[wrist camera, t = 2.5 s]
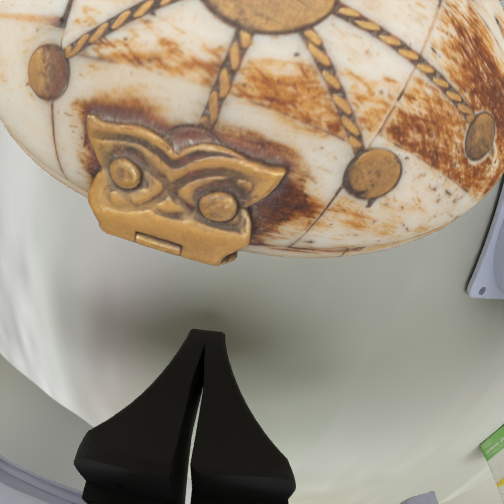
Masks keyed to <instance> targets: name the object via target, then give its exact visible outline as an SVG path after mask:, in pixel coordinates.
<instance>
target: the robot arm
mask: <svg viewBox="0 0 504 504" xmlns="http://www.w3.org/2000/svg"><path fill="white" fill-rule="evenodd" d="M467 293H468V295H469V296H470V297H472V298H484V299H503V300H504V183H503V187H502V191H501V195H500V198H499V202H498V205H497V209H496V212H495V215H494V218H493V221H492V224H491V227H490V230H489V233H488V236H487V239H486V242H485V245H484V247H483V250H482V253H481V255H480V258H479V260H478V263H477V265H476V268H475V270H474V273H473V275H472V277H471V280H470V282H469V284H468V287H467ZM202 389H203V394H202V400H201V406H200V412H199V418H198V424H197V430H196V436H195V442H194V447H193V452H192V458H191V463H190V467H191V480H192V495H191V504H288V499H289V498H290V496H291V495H292V494H293V492H294V491H295V489H296V483H295V479H294V475H293V472H292V469H291V467H290V464H289V462H288V459H287V458H286V457H285V456H284V455H283V454H282V453H281V452H280V451H279V450H278V448H277V447H276V446H275V445H274V444H273V443H272V441H271V440H270V439H269V438H268V436H267V435H266V434H265V432H264V431H263V429H262V428H261V427H260V425H259V424H258V422H257V421H256V419H255V418H254V416H253V414H252V413H251V411H250V409H249V408H248V406H247V404H246V402H245V400H244V398H243V396H242V394H241V392H240V390H239V387H238V385H237V382H236V380H235V377H234V375H233V372H232V369H231V365H230V362H229V359H228V354H227V350H226V344H225V334H224V333H223V332H215V331H206V330H198V329H192V330H190V332H189V334H188V336H187V338H186V340H185V341H184V343H183V345H182V346H181V348H180V349H179V351H178V352H177V354H176V355H175V356H174V358H173V359H172V361H171V362H170V363H169V365H168V366H167V367H166V368H165V369H164V371H163V372H162V373H161V374H160V376H159V377H158V378H157V379H156V380H155V381H154V382H153V383H152V384H151V385H150V386H149V387H148V388H147V389H146V390H145V391H144V392H143V393H142V394H141V395H140V396H139V397H138V398H136V399H135V400H134V401H133V402H132V403H131V404H129V405H128V406H127V407H125V408H124V409H123V410H121V411H120V412H118V413H117V414H116V415H114V416H113V417H111V418H110V419H108V420H107V421H105V422H103V423H101V424H100V425H98V426H96V427H94V428H93V429H91V430H89V431H88V432H87V433H86V435H85V437H84V438H83V440H82V442H81V444H80V446H79V448H78V451H77V454H76V457H75V460H74V465H75V467H76V469H77V470H78V471H79V473H80V474H81V475H82V476H83V478H84V479H85V480H86V484H85V487H84V491H80V490H77V489H74V488H71V487H68V486H66V485H63V484H61V483H58V482H56V481H53V480H51V479H48V478H46V477H44V476H41V475H39V474H37V473H35V472H33V471H30V470H28V469H26V468H24V467H22V466H20V465H18V464H16V463H14V462H12V461H10V460H8V459H6V458H5V457H3V456H1V455H0V504H185V496H186V485H187V474H188V464H189V455H190V446H191V438H192V432H193V427H194V423H195V419H196V414H197V410H198V406H199V402H200V397H201V393H202ZM400 504H438V501H437V498H436V494H435V492H434V491H431V492H428V493H425V494H421V495H418V496H414V497H411V498H409V499H406V500H404V501H403V502H401V503H400Z"/></svg>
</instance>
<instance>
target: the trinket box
mask: <svg viewBox="0 0 504 504" xmlns="http://www.w3.org/2000/svg"><path fill="white" fill-rule="evenodd" d="M0 120H1V122H2V123H3V125H4V126H5V128H6V129H7V131H8V132H9V134H10V135H11V136H12V137H13V139H14V140H15V141H16V142H17V144H18V145H19V146H20V147H21V148H22V149H23V151H24V152H25V153H26V154H27V155H28V156H29V157H30V158H31V159H32V160H33V161H34V162H35V163H37V164H38V165H39V166H40V167H41V168H42V169H44V170H45V171H46V172H47V173H49V174H50V175H51V176H53V177H54V178H56V179H57V180H58V181H60V182H61V183H63V184H64V185H66V186H68V187H69V188H71V189H72V190H74V191H76V192H77V193H79V194H81V195H83V196H85V197H87V198H88V202H89V205H90V206H91V208H92V210H93V213H94V215H95V216H96V218H97V220H98V221H99V226H100V228H101V229H102V230H103V231H104V232H106V233H108V234H111V235H114V236H117V237H120V238H123V239H126V240H129V241H133V242H136V243H139V244H141V245H144V246H147V247H150V248H154V249H157V250H160V251H164V252H167V253H170V254H174V255H178V256H182V257H184V258H188V259H191V260H195V261H198V262H202V263H206V264H209V265H214V266H218V265H220V264H226V263H227V262H230V261H233V260H234V259H235V258H236V257H237V251H246V252H253V253H259V254H265V255H272V256H282V257H296V258H327V257H342V256H353V255H361V254H367V253H372V252H377V251H381V250H385V249H389V248H393V247H397V246H400V245H403V244H406V243H409V242H412V241H414V240H417V239H420V238H422V237H424V236H427V235H429V234H432V233H434V232H436V231H438V230H440V229H442V228H444V227H445V226H447V225H449V224H450V223H452V222H454V221H455V220H456V219H458V218H459V217H460V216H462V215H463V214H464V213H465V212H466V211H468V210H469V209H471V208H472V207H473V206H474V205H476V204H477V203H478V202H479V201H480V200H481V199H482V198H483V197H484V196H486V195H487V194H488V193H489V191H490V190H491V189H492V188H493V187H494V186H495V184H496V183H497V182H498V180H499V179H500V178H501V176H502V175H503V173H504V9H503V7H502V5H501V3H500V2H499V0H0Z"/></svg>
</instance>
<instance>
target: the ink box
mask: <svg viewBox="0 0 504 504" xmlns="http://www.w3.org/2000/svg"><path fill="white" fill-rule="evenodd" d="M480 447H481V449H482V451H483V453H484V456H485V458H486V460H487V462H488V465H489V467H490V470H491V472H492V474H493V477H494V479H495V482H496V484H497V487H498V489H499V492H500V495H501V497H502V500H503V503H504V425H503V426H502V427H501V428H500V429H499V430H497V431H496V432H495V433H494V434H493V435H491V436H490V437H489V438H488V439H487V440H486V441H485V442H483V443H482V444H481V445H480Z"/></svg>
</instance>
